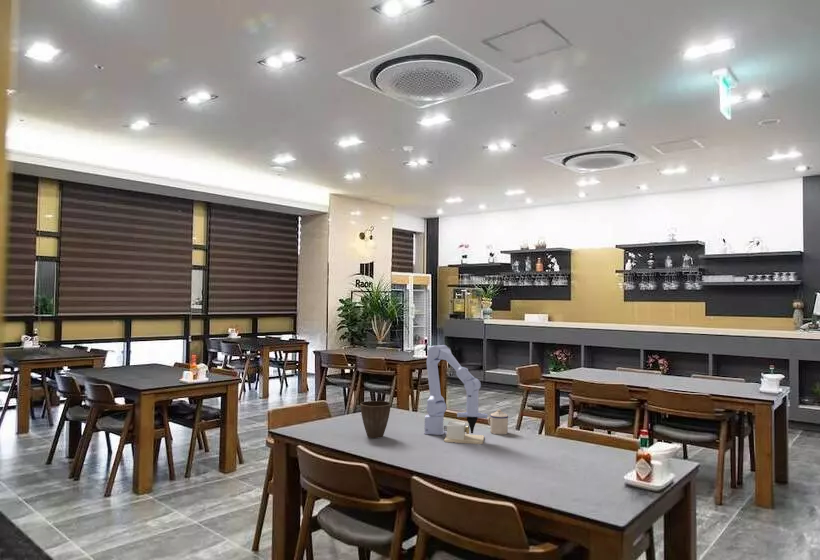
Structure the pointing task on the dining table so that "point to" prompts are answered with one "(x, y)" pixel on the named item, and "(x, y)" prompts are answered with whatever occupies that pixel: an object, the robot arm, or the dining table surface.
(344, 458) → the dining table surface
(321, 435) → the dining table surface
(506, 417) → the teacup with lid
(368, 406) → the plant pot
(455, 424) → the bearing block
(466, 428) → the shaft
